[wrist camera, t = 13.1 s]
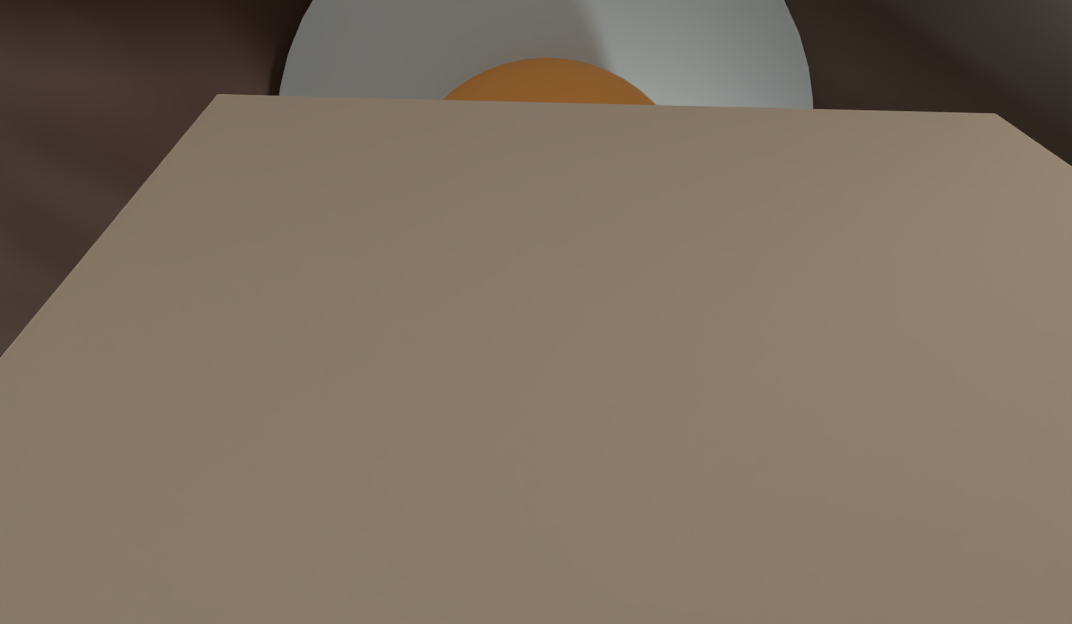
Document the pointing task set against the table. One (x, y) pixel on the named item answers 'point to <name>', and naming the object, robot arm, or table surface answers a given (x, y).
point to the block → (555, 374)
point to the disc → (553, 47)
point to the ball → (549, 84)
